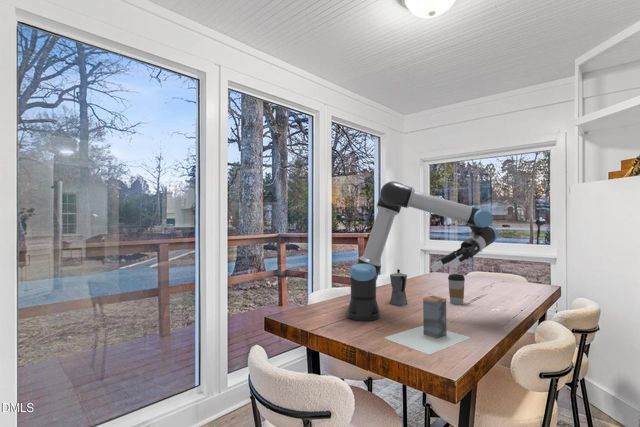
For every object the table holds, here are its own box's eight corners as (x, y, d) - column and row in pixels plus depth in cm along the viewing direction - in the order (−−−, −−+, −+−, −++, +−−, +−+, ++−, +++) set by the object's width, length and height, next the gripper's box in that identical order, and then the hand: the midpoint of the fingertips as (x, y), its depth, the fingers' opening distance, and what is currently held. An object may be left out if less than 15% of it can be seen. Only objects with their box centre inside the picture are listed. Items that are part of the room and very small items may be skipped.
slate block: (437, 338, 126) (436, 300, 126) (423, 334, 131) (422, 297, 131) (446, 335, 130) (446, 298, 130) (432, 331, 135) (432, 295, 135)
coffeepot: (386, 300, 188) (386, 267, 188) (403, 300, 189) (402, 267, 189) (395, 307, 173) (395, 272, 173) (413, 307, 174) (413, 271, 174)
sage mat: (429, 356, 112) (429, 354, 112) (383, 339, 128) (383, 337, 128) (471, 338, 127) (471, 337, 127) (425, 325, 143) (425, 324, 143)
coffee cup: (450, 301, 186) (450, 273, 186) (466, 303, 181) (466, 274, 182) (446, 304, 179) (445, 275, 180) (463, 306, 174) (462, 277, 175)
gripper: (499, 247, 144) (468, 270, 134) (457, 258, 166) (428, 278, 157) (490, 231, 145) (458, 253, 135) (449, 244, 167) (420, 264, 157)
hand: (442, 266), depth 146 cm, fingers open, 13 cm apart
